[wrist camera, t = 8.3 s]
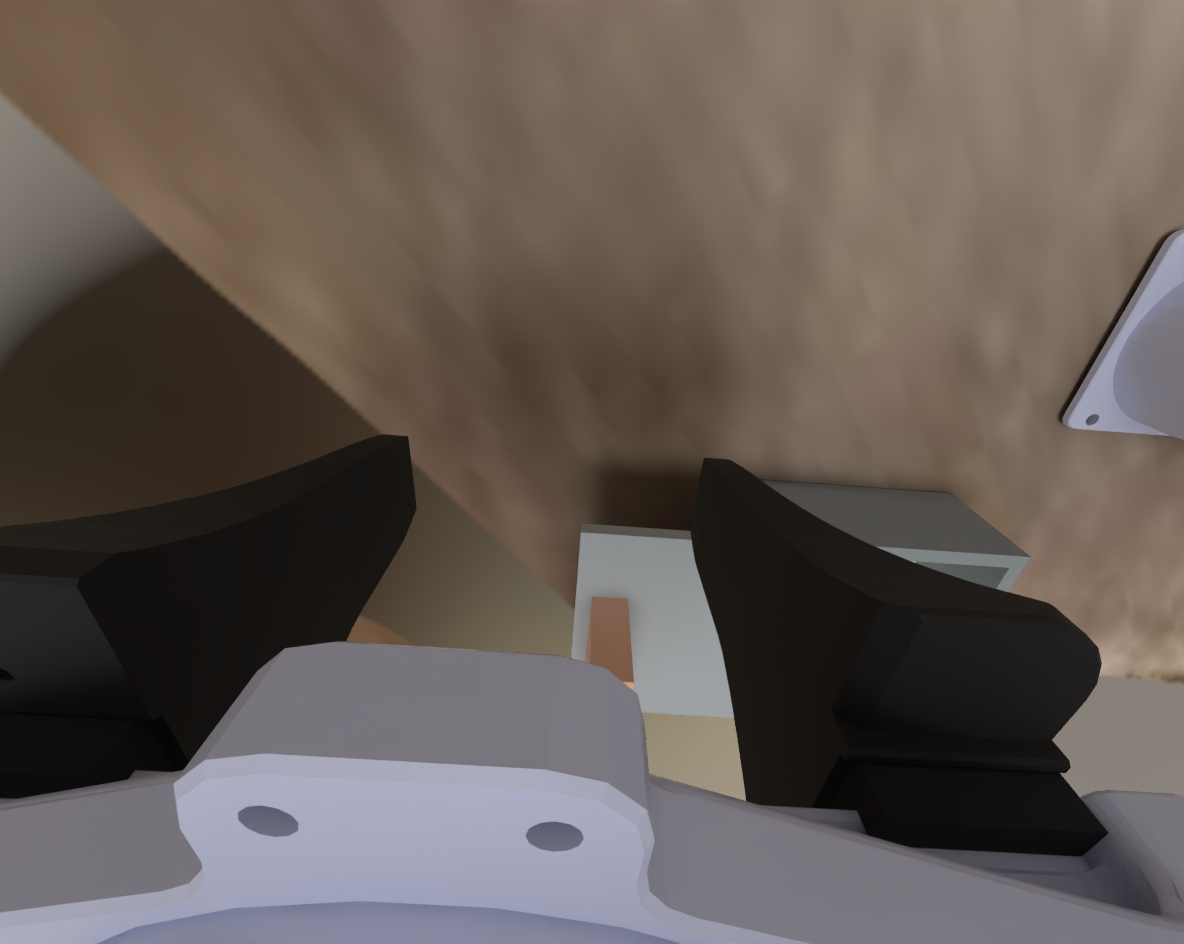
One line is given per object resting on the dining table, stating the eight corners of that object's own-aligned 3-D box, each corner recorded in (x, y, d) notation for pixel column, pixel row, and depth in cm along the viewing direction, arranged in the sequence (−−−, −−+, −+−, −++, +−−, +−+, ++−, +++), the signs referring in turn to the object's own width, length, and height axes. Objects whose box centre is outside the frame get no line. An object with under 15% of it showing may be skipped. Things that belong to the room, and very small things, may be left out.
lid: (843, 541, 19) (908, 630, 15) (775, 709, 24) (811, 810, 20) (581, 523, 19) (576, 608, 15) (568, 696, 24) (561, 796, 20)
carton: (951, 493, 24) (1031, 557, 19) (878, 637, 29) (929, 714, 24) (751, 479, 24) (787, 540, 19) (712, 626, 28) (733, 702, 24)
